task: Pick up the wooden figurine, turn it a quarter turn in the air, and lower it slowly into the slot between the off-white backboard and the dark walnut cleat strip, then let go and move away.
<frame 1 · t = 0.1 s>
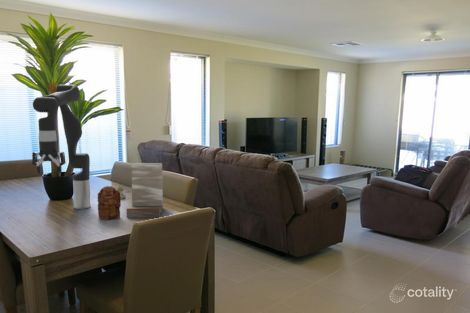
hand: (49, 173, 173), 29 cm above the table, tool pointing down, fingers open, 8 cm apart
cleat slot: (145, 212, 212), on the table
wooden figurine: (109, 218, 201), on the table
ceramic model: (117, 197, 248), on the table
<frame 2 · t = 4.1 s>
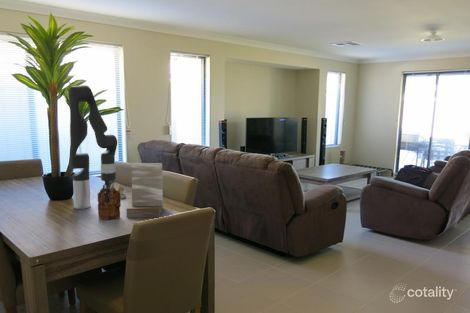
hand: (109, 200, 199), 10 cm above the table, tool pointing down, fingers closed on wooden figurine, 7 cm apart
wooden figurine: (109, 218, 201), on the table, touching gripper
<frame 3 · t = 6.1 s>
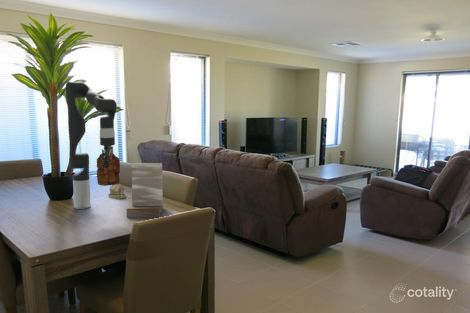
hand: (108, 166, 197), 29 cm above the table, tool pointing down, fingers closed on wooden figurine, 7 cm apart
wooden figurine: (108, 184, 198), point 19 cm above the table, touching gripper
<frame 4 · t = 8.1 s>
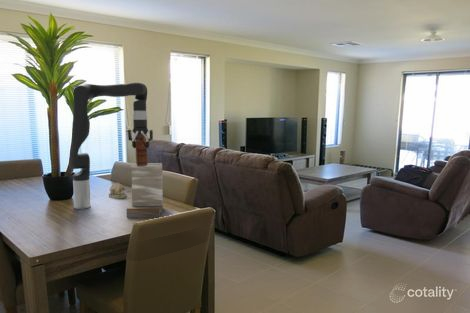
hand: (140, 147, 206), 38 cm above the table, tool pointing down, fingers closed on wooden figurine, 7 cm apart
wooden figurine: (141, 165, 207), point 28 cm above the table, touching gripper
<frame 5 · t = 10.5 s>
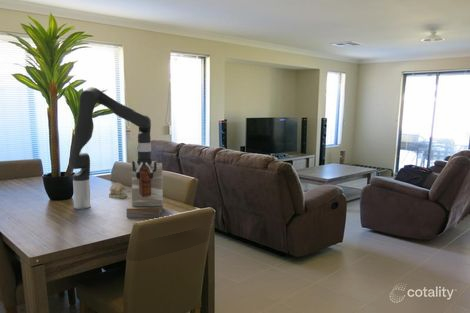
hand: (144, 178, 210), 20 cm above the table, tool pointing down, fingers closed on wooden figurine, 7 cm apart
wooden figurine: (145, 195, 211), point 10 cm above the table, touching gripper
when the fingers open (13 cm above the table, at t = 12.6 s): wooden figurine drops 1 cm, resting on cleat slot.
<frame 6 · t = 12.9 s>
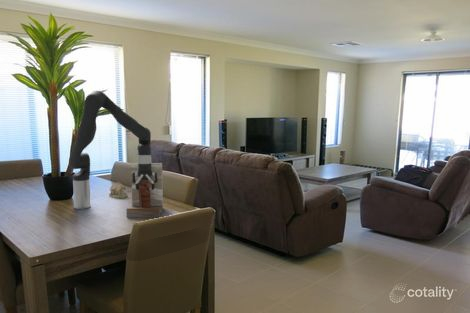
hand: (145, 189, 211), 14 cm above the table, tool pointing down, fingers open, 8 cm apart
wooden figurine: (145, 209, 212), point 2 cm above the table, touching cleat slot
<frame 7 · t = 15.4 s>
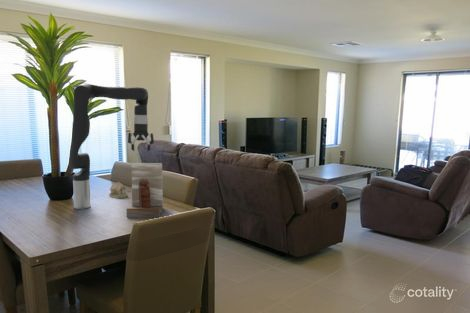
hand: (141, 150, 210), 36 cm above the table, tool pointing down, fingers open, 8 cm apart
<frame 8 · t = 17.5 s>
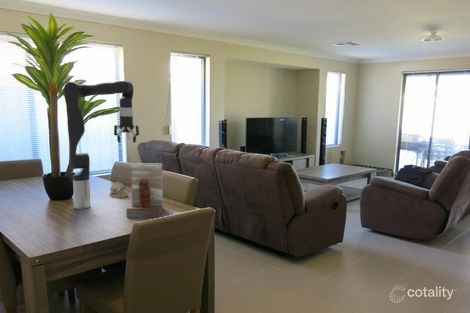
hand: (126, 142, 217), 40 cm above the table, tool pointing down, fingers open, 8 cm apart
at the end: wooden figurine 0.5 cm off-centre on the cleat slot, point 1.8 cm above the cleat slot's base; wooden figurine tilted 0°; the gripper is holding nothing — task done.
